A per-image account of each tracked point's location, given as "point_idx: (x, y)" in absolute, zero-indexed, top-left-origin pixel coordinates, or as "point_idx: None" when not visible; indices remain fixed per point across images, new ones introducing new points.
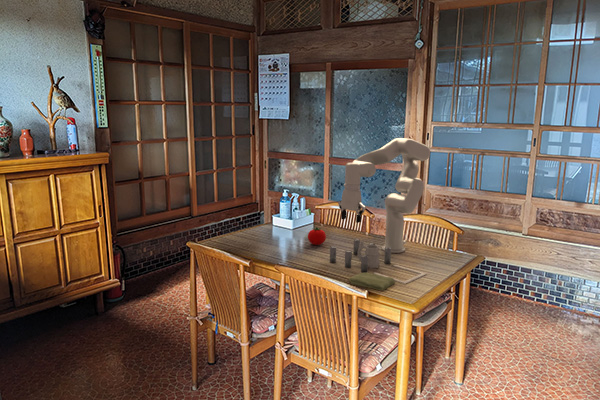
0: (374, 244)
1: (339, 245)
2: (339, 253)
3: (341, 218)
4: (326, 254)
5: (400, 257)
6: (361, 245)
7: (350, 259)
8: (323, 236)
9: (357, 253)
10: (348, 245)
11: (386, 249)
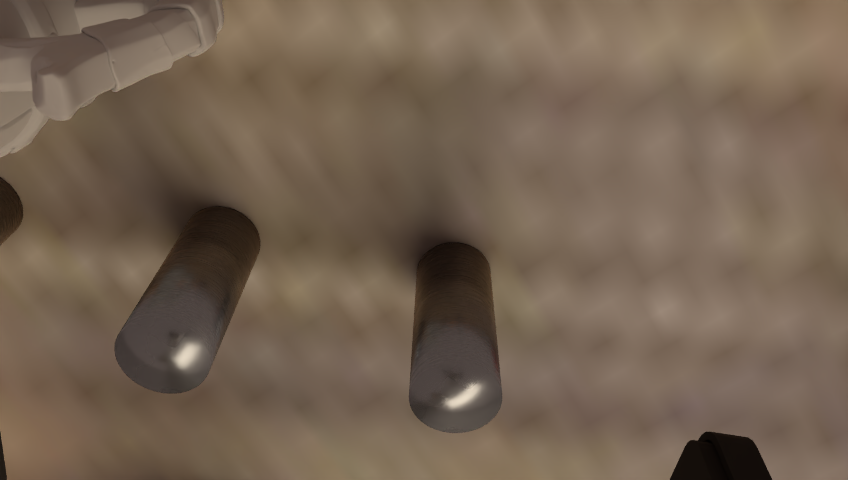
0: (116, 350)
1: (778, 427)
2: (652, 185)
3: (754, 449)
4: (801, 44)
5: (27, 429)
6: (74, 46)
7: None
8: None
9: (424, 265)
10: None
11: None
